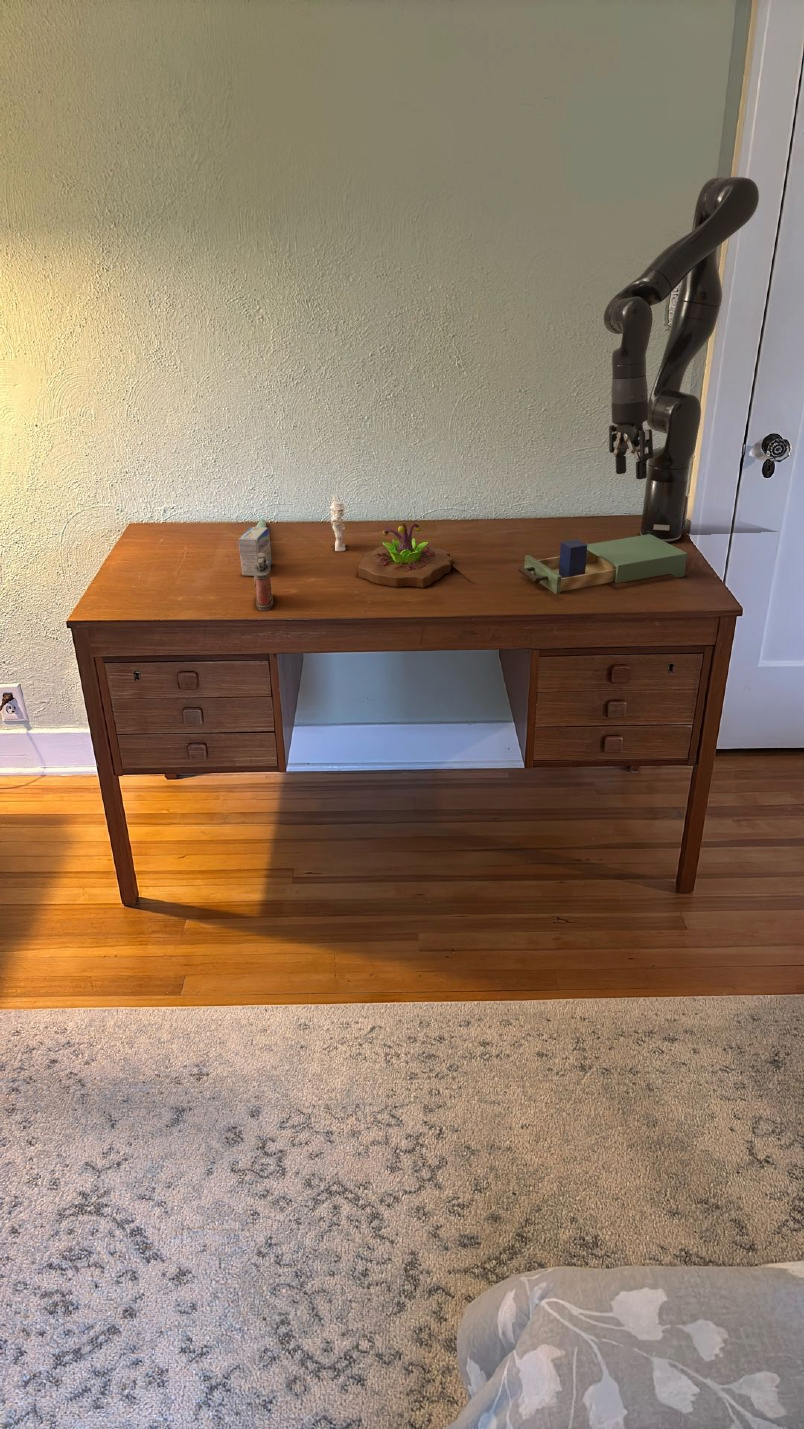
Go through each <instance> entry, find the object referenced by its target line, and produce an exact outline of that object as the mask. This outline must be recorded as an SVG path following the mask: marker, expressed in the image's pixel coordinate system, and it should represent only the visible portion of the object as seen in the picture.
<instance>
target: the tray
mask: <svg viewBox="0 0 804 1429" xmlns="http://www.w3.org/2000/svg"><path fill="white" fill-rule="evenodd" d="M559 563H560V555H559V556H554V557H553V556H552V557H549V558H547V557H546V558H541V559H536V558H535V557H533V556H531V555H530V554H525V555H524V567H523V566H519V567H518V569H517V572H518V573H519V574H521V575H523V576H524V577H525V578H527V579H528V580H530V581H531V582H533V583H534V584H535V585H539V584H540V585H542V586H543V587H545V588H547V589H548V590H549V591H551V592H552V593H554V594H555V595H559V594H561V592H563V591H564V592H565V591H570V590H576V589H581V588H587V587H592V586H598V585H603V584H610V583H615V577H616V567H615V566H614V565H612V564H610V563H609V562H607V561H605V560H604V559H602V558H600V557H598V556H597V555H595V554H593V553H592V552H590V551H589V552H587V557H586V569H585V574H584V575H578V576H572V577H567V578H562V576H560V575H559Z"/></svg>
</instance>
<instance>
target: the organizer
mask: <svg viewBox="0 0 804 1429" xmlns="http://www.w3.org/2000/svg"><path fill="white" fill-rule="evenodd" d="M586 545H587V552H589V551H590V552H592V553H593V554H595V555H597V556H598V557H600V558H602V559H604V560H605V561H607V562H609V563H610V564H612V565H614V566H615V567H616V577H615V582H614V583H615V584H621V583H626V582H631V581H638V580H642V579H647V578H654V577H660V576H664V575H665V576H666V575H672V576H673V577H675V578H682V577H683V578H684V577H685V575H686V567H687V559H688V553H687V552H685V550H682V549H680V548H678V547H676V546H675V545H672V544H670V543H666V542H664V541H662V540H660V539H659V538H657V537H655V536H653V535H651V534H648V535H641V536H640V535H636V536H629V537H624V538H617V539H612V540H605V541H600V542H593V543H586Z"/></svg>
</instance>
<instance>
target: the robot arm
mask: <svg viewBox="0 0 804 1429" xmlns="http://www.w3.org/2000/svg"><path fill="white" fill-rule="evenodd" d="M759 201H760V191H759V187H758V185H757V183H756V182H755V181H754V180H753V179H751V178H749V177H744V176H717V177H716V176H715V177H711V178H710V179H708V180H707V181H706V182H705V183H704V185H703V186H702V187H701V190H700V191H699V194H698V197H697V200H696V204H695V208H694V215H693V221H692V226H691V227H692V228H691V231H690V232H689V233H687V234H686V235H684V236H683V237H681V238H680V239H678V240H676V241H674V242H673V243H671V244H670V245H669V246H668V247H666V248H665V249H663V251H661V253H659V254H658V255H657V256H656V257H655V259H653V261H652V262H651V263H650V264H649V265H648V266H647V267H646V268H645V270H644V271H643V272H642V273H641V275H639V276H638V277H637V278H636V279H634V280H633V281H632V282H630V283H629V284H628V285H626V286H625V287H624V288H622V289H621V290H619V292H618V293H617V294H616V295H614V296H613V297H612V298H611V300H610V301H609V302H608V304H607V305H606V307H605V310H604V312H603V319H602V320H603V325H604V327H605V328H606V330H607V331H608V332H610V333H611V334H615V335H621V342H620V346H619V347H617V348H616V349H614V350H613V351H612V352H611V359H610V360H611V364H610V365H611V385H610V403H611V404H610V406H611V407H610V408H611V423H612V425H609V426H608V438H609V439H608V452H609V454H613V457H615V473H616V475H624V474H626V473H627V456H626V454H627V451H628V450H629V452H630V454H632V455H633V458H634V460H635V479H636V480H639V481H640V480H644V479H646V480H645V487H644V497H643V504H642V505H643V506H642V514H641V515H642V516H641V524H640V530H639V536H641V535H648V534H651V535H653V536H655V537H657V538H659V539H660V540H662V541H664V542H666V543H668V544H670V543H675V542H678V541H680V540H681V537H683V535H684V528H685V521H686V513H687V506H688V496H687V489H688V481H689V474H690V473H689V471H690V464H691V459H692V457H693V455H694V454H695V451H696V445H697V441H698V436H699V435H698V434H699V430H700V426H701V425H700V424H701V419H702V405H701V401H700V400H699V398H698V397H697V396H696V395H694V394H692V393H688V392H682V391H681V387H682V384H683V380H684V378H685V375H686V372H687V369H688V367H689V366H690V364H691V362H692V361H693V360H694V358H695V357H696V356H697V355H698V353H699V352H700V351H701V350H702V349H703V348H704V346H705V345H706V344H707V342H708V341H709V340H710V338H711V337H712V335H713V333H714V331H715V329H716V325H717V322H718V318H719V313H720V310H721V306H722V302H723V289H722V283H721V277H720V276H721V275H720V272H719V267H718V266H719V265H718V248H719V246H721V245H722V244H723V243H724V242H726V241H727V240H728V239H729V238H730V237H731V236H733V235H734V234H736V232H738V231H739V230H740V229H741V228H743V226H745V225H747V223H748V222H749V221H750V220H751V219H752V217H753V216H754V215H755V213H756V211H757V209H758V206H759ZM680 283H681V284H680ZM679 284H680V288H679V292H678V295H677V298H676V303H675V307H674V309H673V310H674V311H673V315H672V319H671V324H670V329H669V333H668V337H667V341H666V344H665V348H664V351H663V355H662V358H661V362H660V365H659V369H658V371H657V374H656V377H655V380H654V382H653V386H652V389H651V391H650V395H649V391H648V390H649V388H648V380H647V358H646V356H647V351H648V347H649V343H650V336H651V332H652V328H653V310H652V306H655V305H658V304H660V303H662V302H663V301H664V300H666V299H667V298H668V297H669V296H670V295H671V293H672V292H673V291H674V290H676V288H677V287H678V286H679ZM648 395H649V396H648ZM644 422H646V424H647V427H649V428H648V429H644V425H643V424H644ZM653 431H656V432H660V433H662V434H666V437H665V441H664V445H663V446H660V447H656V448H654V441H653Z"/></svg>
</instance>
